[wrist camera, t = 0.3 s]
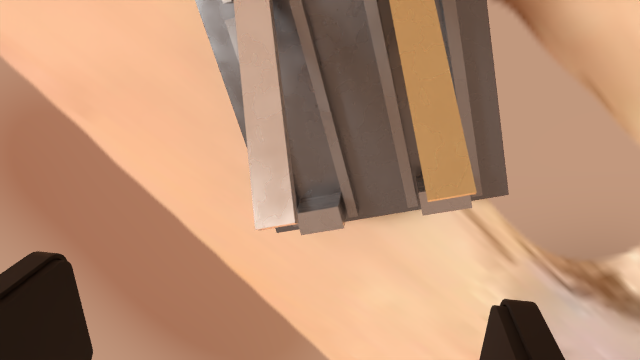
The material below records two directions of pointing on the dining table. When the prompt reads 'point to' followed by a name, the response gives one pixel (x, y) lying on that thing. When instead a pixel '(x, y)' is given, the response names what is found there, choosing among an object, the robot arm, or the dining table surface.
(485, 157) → the heatsink block
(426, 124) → the brass strap
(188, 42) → the dining table surface
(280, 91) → the steel strap
